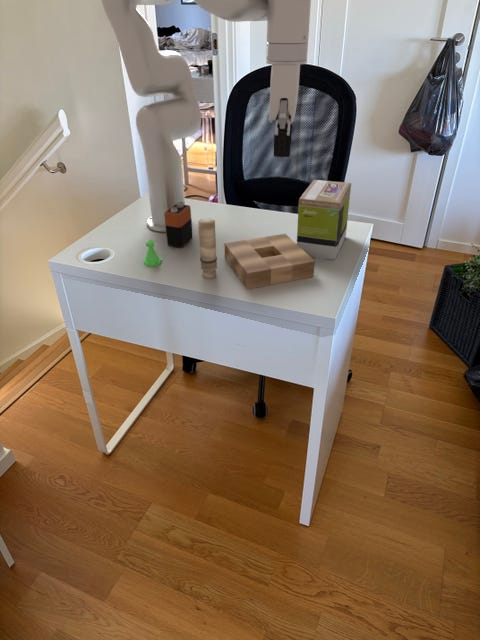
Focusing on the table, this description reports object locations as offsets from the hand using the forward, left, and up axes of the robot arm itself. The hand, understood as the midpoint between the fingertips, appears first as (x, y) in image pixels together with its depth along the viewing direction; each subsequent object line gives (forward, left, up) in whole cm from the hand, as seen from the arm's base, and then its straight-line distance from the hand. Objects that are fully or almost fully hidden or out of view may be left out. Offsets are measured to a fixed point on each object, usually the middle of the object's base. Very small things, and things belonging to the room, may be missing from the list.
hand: (282, 150), depth 95 cm
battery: (-21, -19, -27) cm, 39 cm away
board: (0, -3, -26) cm, 27 cm away
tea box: (-6, +15, -27) cm, 31 cm away
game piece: (-12, -28, -27) cm, 40 cm away
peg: (-1, -17, -26) cm, 31 cm away
